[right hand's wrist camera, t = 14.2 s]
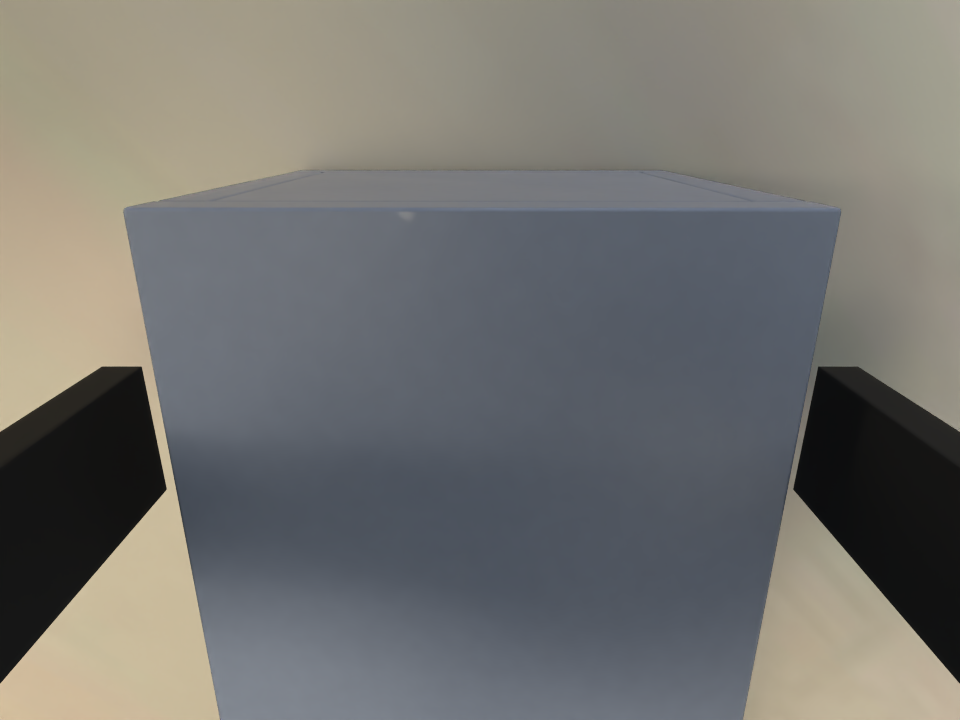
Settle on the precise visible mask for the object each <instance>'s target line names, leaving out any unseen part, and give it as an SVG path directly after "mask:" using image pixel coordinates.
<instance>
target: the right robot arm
mask: <svg viewBox="0 0 960 720" xmlns="http://www.w3.org/2000/svg"><path fill="white" fill-rule="evenodd" d="M166 490H167V489H166V484H165V479H164V474H163V469H162V464H161V459H160V454H159V449H158V445H157V440H156V435H155V430H154V425H153V420H152V415H151V410H150V405H149V401H148V396H147V391H146V386H145V381H144V376H143V371H142V367H101V368H99V369H98V370H96V371H95V372H93V373H91V374H90V375H88V376H87V377H85V378H84V379H82V380H81V381H79V382H77V383H76V384H74V385H73V386H71V387H70V388H68V389H67V390H65V391H63V392H62V393H60V394H59V395H57V396H56V397H54V398H53V399H51V400H49V401H48V402H46V403H45V404H43V405H42V406H40V407H39V408H37V409H35V410H34V411H32V412H31V413H29V414H28V415H26V416H24V417H23V418H21V419H20V420H18V421H17V422H15V423H14V424H12V425H10V426H9V427H7V428H6V429H4V430H3V431H1V432H0V683H1V682H2V681H3V680H4V678H5V677H6V676H7V675H8V674H9V673H10V671H11V670H12V669H13V668H14V667H15V666H16V664H17V663H18V662H19V661H20V660H21V659H22V657H23V656H24V655H25V654H26V653H27V652H28V650H29V649H30V648H31V647H32V646H33V645H34V643H35V642H36V641H37V640H38V639H39V638H40V636H41V635H42V634H43V633H44V632H45V631H46V629H47V628H48V627H49V626H50V625H51V624H52V622H53V621H54V620H55V619H56V618H57V617H58V615H59V614H60V613H61V612H62V611H63V610H64V609H65V607H66V606H67V605H68V604H69V603H70V602H71V600H72V599H73V598H74V597H75V596H76V595H77V593H78V592H79V591H80V590H81V589H82V588H83V586H84V585H85V584H86V583H87V582H88V581H89V579H90V578H91V577H92V576H93V575H94V574H95V572H96V571H97V570H98V569H99V568H100V567H101V565H102V564H103V563H104V562H105V561H106V560H107V558H108V557H109V556H110V555H111V554H112V553H113V551H114V550H115V549H116V548H117V547H118V546H119V544H120V543H121V542H122V541H123V540H124V539H125V537H126V536H127V535H128V534H129V533H130V532H131V530H132V529H133V528H134V527H135V526H136V525H137V523H138V522H139V521H140V520H141V519H142V518H143V516H144V515H145V514H146V513H147V512H148V511H149V509H150V508H151V507H152V506H153V505H154V504H155V502H156V501H157V500H158V499H159V498H160V497H161V495H162V494H163V493H164V492H165V491H166ZM793 490H794V491H795V492H796V493H797V494H798V495H799V497H800V498H801V499H802V500H803V501H804V502H805V504H806V505H807V506H808V507H809V508H810V509H811V511H812V512H813V513H814V514H815V515H816V516H817V518H818V519H819V520H820V521H821V522H822V523H823V525H824V526H825V527H826V528H827V529H828V530H829V532H830V533H831V534H832V535H833V536H834V537H835V539H836V540H837V541H838V542H839V543H840V544H841V546H842V547H843V548H844V549H845V550H846V551H847V553H848V554H849V555H850V556H851V557H852V558H853V560H854V561H855V562H856V563H857V564H858V565H859V567H860V568H861V569H862V570H863V571H864V572H865V574H866V575H867V576H868V577H869V578H870V579H871V581H872V582H873V583H874V584H875V585H876V586H877V588H878V589H879V590H880V591H881V592H882V593H883V595H884V596H885V597H886V598H887V599H888V600H889V602H890V603H891V604H892V605H893V606H894V607H895V609H896V610H897V611H898V612H899V613H900V614H901V615H902V617H903V618H904V619H905V620H906V621H907V622H908V624H909V625H910V626H911V627H912V628H913V629H914V631H915V632H916V633H917V634H918V635H919V636H920V638H921V639H922V640H923V641H924V642H925V643H926V645H927V646H928V647H929V648H930V649H931V650H932V652H933V653H934V654H935V655H936V656H937V657H938V659H939V660H940V661H941V662H942V663H943V664H944V666H945V667H946V668H947V669H948V670H949V671H950V673H951V674H952V675H953V676H954V677H955V678H956V680H957V681H958V682H959V683H960V432H959V431H957V430H956V429H954V428H953V427H951V426H950V425H948V424H946V423H945V422H943V421H942V420H940V419H939V418H937V417H936V416H934V415H932V414H931V413H929V412H928V411H926V410H925V409H923V408H921V407H920V406H918V405H917V404H915V403H914V402H912V401H911V400H909V399H907V398H906V397H904V396H903V395H901V394H900V393H898V392H897V391H895V390H893V389H892V388H890V387H889V386H887V385H886V384H884V383H883V382H881V381H879V380H878V379H876V378H875V377H873V376H872V375H870V374H869V373H867V372H865V371H864V370H862V369H861V368H859V367H818V371H817V376H816V381H815V386H814V391H813V396H812V401H811V405H810V410H809V415H808V420H807V425H806V430H805V435H804V440H803V445H802V449H801V454H800V459H799V464H798V469H797V474H796V479H795V484H794V489H793Z"/></svg>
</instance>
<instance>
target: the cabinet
mask: <svg viewBox="0 0 960 720" xmlns="http://www.w3.org/2000/svg"><path fill="white" fill-rule="evenodd" d="M123 213H124V218H125V223H126V228H127V233H128V239H129V244H130V249H131V254H132V260H133V265H134V270H135V275H136V281H137V286H138V291H139V296H140V302H141V307H142V312H143V317H144V323H145V328H146V333H147V338H148V344H149V349H150V354H151V359H152V364H153V370H154V375H155V380H156V385H157V391H158V396H159V401H160V406H161V412H162V417H163V422H164V427H165V433H166V438H167V443H168V448H169V454H170V459H171V464H172V469H173V475H174V480H175V485H176V490H177V495H178V501H179V506H180V511H181V516H182V522H183V527H184V532H185V537H186V543H187V548H188V553H189V558H190V564H191V569H192V574H193V579H194V585H195V590H196V595H197V600H198V606H199V611H200V616H201V621H202V626H203V632H204V637H205V642H206V647H207V653H208V658H209V663H210V668H211V674H212V679H213V684H214V689H215V695H216V700H217V705H218V710H219V716H220V720H743V716H744V711H745V706H746V700H747V695H748V690H749V685H750V680H751V675H752V670H753V664H754V659H755V654H756V649H757V644H758V639H759V633H760V628H761V623H762V618H763V613H764V608H765V602H766V597H767V592H768V587H769V582H770V577H771V571H772V566H773V561H774V556H775V551H776V546H777V541H778V535H779V530H780V525H781V520H782V515H783V510H784V504H785V499H786V494H787V489H788V484H789V479H790V473H791V468H792V463H793V458H794V453H795V448H796V442H797V437H798V432H799V427H800V422H801V417H802V411H803V406H804V401H805V396H806V391H807V386H808V381H809V375H810V370H811V365H812V360H813V355H814V350H815V344H816V339H817V334H818V329H819V324H820V319H821V313H822V308H823V303H824V298H825V293H826V288H827V282H828V277H829V272H830V267H831V262H832V257H833V252H834V246H835V241H836V236H837V231H838V226H839V221H840V215H841V209H840V208H837V207H833V206H829V205H824V204H819V203H814V202H806V201H803V200H799V199H794V198H789V197H784V196H780V195H775V194H770V193H766V192H761V191H756V190H752V189H747V188H742V187H738V186H733V185H728V184H723V183H719V182H714V181H709V180H705V179H700V178H695V177H691V176H686V175H681V174H676V173H672V172H667V171H663V170H300V171H296V172H291V173H286V174H282V175H277V176H272V177H268V178H263V179H258V180H254V181H249V182H244V183H239V184H235V185H230V186H225V187H221V188H216V189H211V190H207V191H202V192H197V193H192V194H188V195H183V196H178V197H174V198H169V199H164V200H160V201H153V202H148V203H144V204H139V205H134V206H129V207H126V208H124V212H123Z"/></svg>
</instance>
